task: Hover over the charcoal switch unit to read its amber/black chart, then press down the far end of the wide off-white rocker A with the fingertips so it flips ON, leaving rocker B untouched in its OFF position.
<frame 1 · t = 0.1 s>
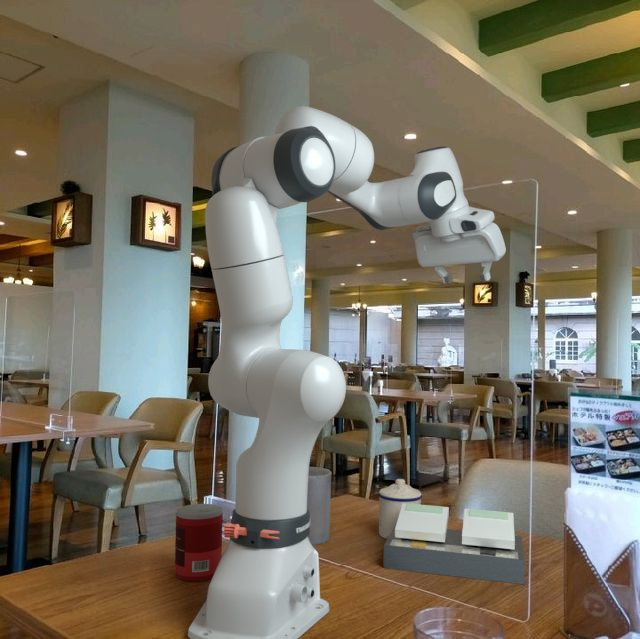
hand: (466, 281, 137), 54 cm above the table, tool tilted 30°, fingers open, 8 cm apart
switch unit: (454, 562, 115), on the table
rocker A: (422, 521, 118), point 7 cm above the table, hinge at -14.0°
teacup with lid: (395, 534, 132), on the table
pillar candle: (306, 539, 128), on the table
canned food: (198, 574, 107), on the table
rocker B: (488, 527, 115), point 7 cm above the table, hinge at -14.0°
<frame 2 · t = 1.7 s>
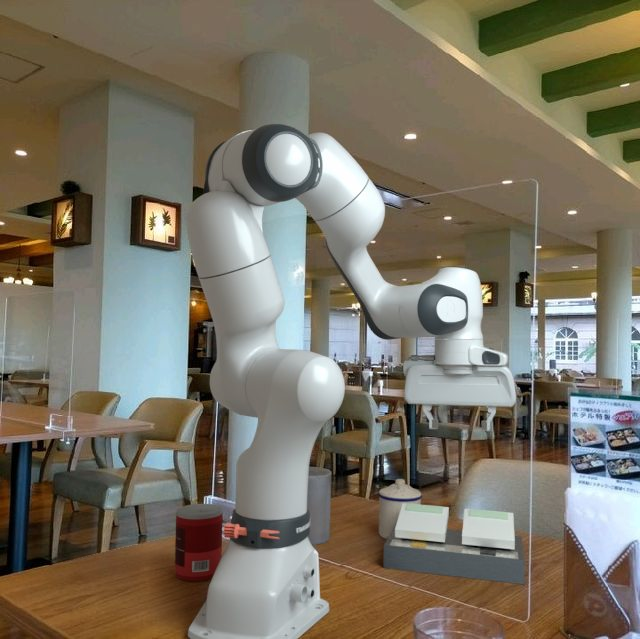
hand: (459, 429, 115), 24 cm above the table, tool pointing down, fingers open, 8 cm apart
nothing on the table moved.
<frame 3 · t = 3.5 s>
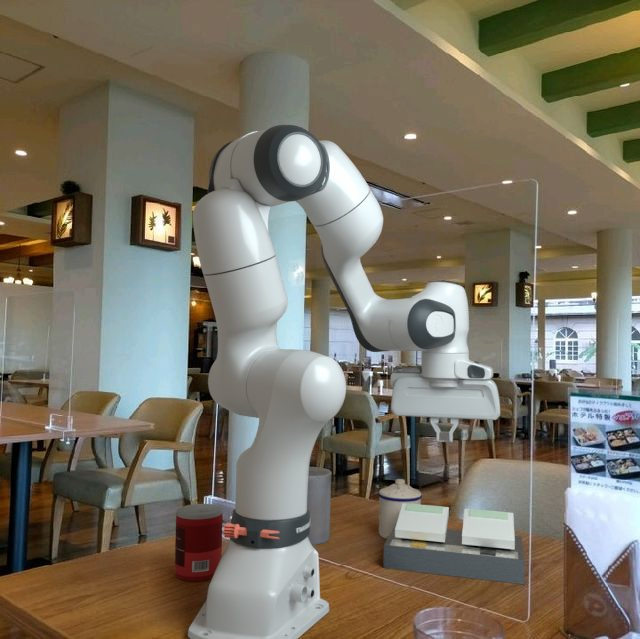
hand: (444, 441, 117), 22 cm above the table, tool pointing down, fingers closed
nothing on the table moved.
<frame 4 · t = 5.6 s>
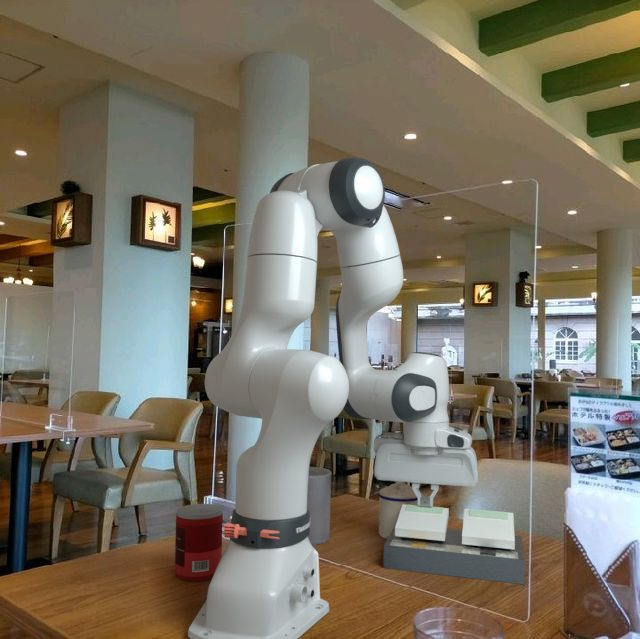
hand: (425, 505, 122), 9 cm above the table, tool pointing down, fingers closed, pressing on rocker A
rocker A: (422, 521, 118), point 7 cm above the table, hinge at -10.9°, touching gripper
everything else where it was.
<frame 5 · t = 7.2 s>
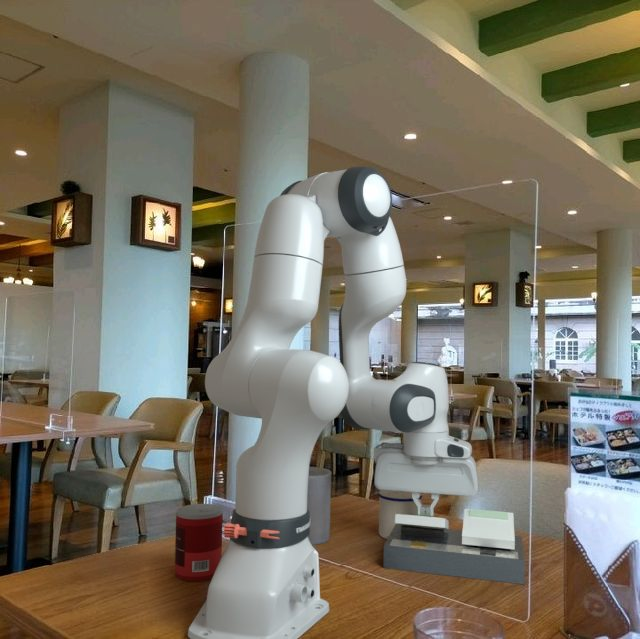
hand: (425, 515, 122), 7 cm above the table, tool pointing down, fingers closed, pressing on rocker A
rocker A: (422, 520, 118), point 7 cm above the table, hinge at 17.0°, touching gripper
everything else where it was.
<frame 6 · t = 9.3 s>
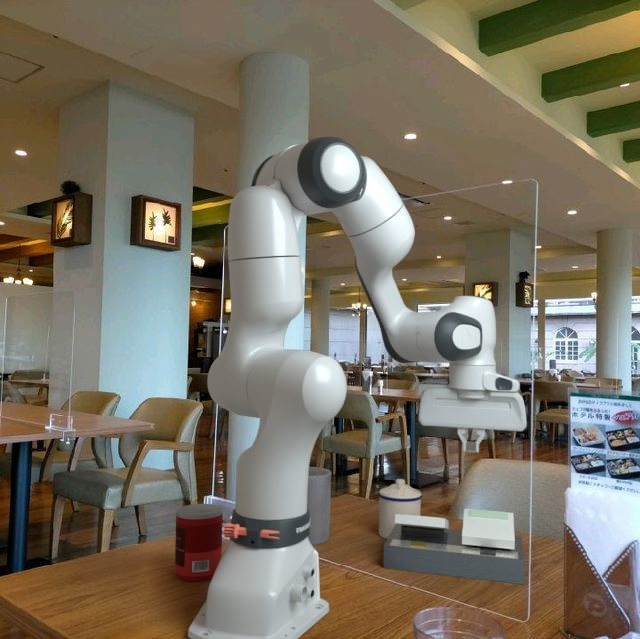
hand: (471, 451, 120), 20 cm above the table, tool pointing down, fingers closed
rocker A: (422, 520, 118), point 7 cm above the table, hinge at 16.9°
everything else where it was.
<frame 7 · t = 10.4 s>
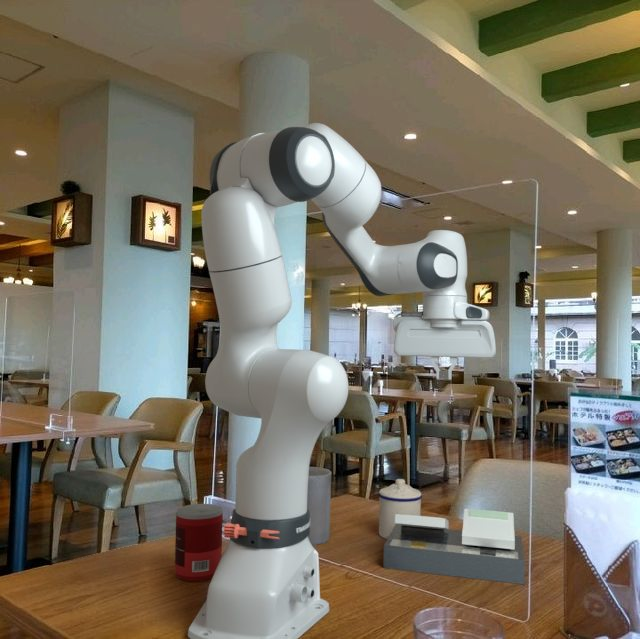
hand: (444, 379, 126), 33 cm above the table, tool pointing down, fingers closed
nothing on the table moved.
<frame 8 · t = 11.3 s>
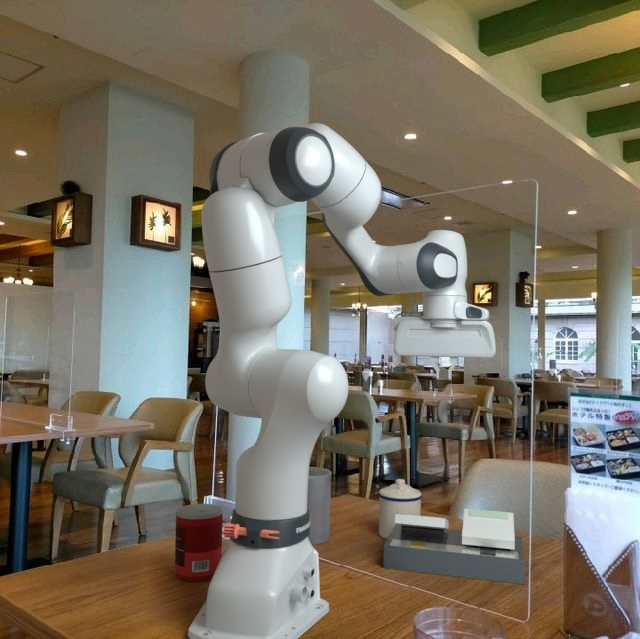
hand: (443, 379, 126), 33 cm above the table, tool pointing down, fingers closed
nothing on the table moved.
at the end: rocker A at +17° (first picture: -14°); rocker B at -14° (first picture: -14°) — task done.
